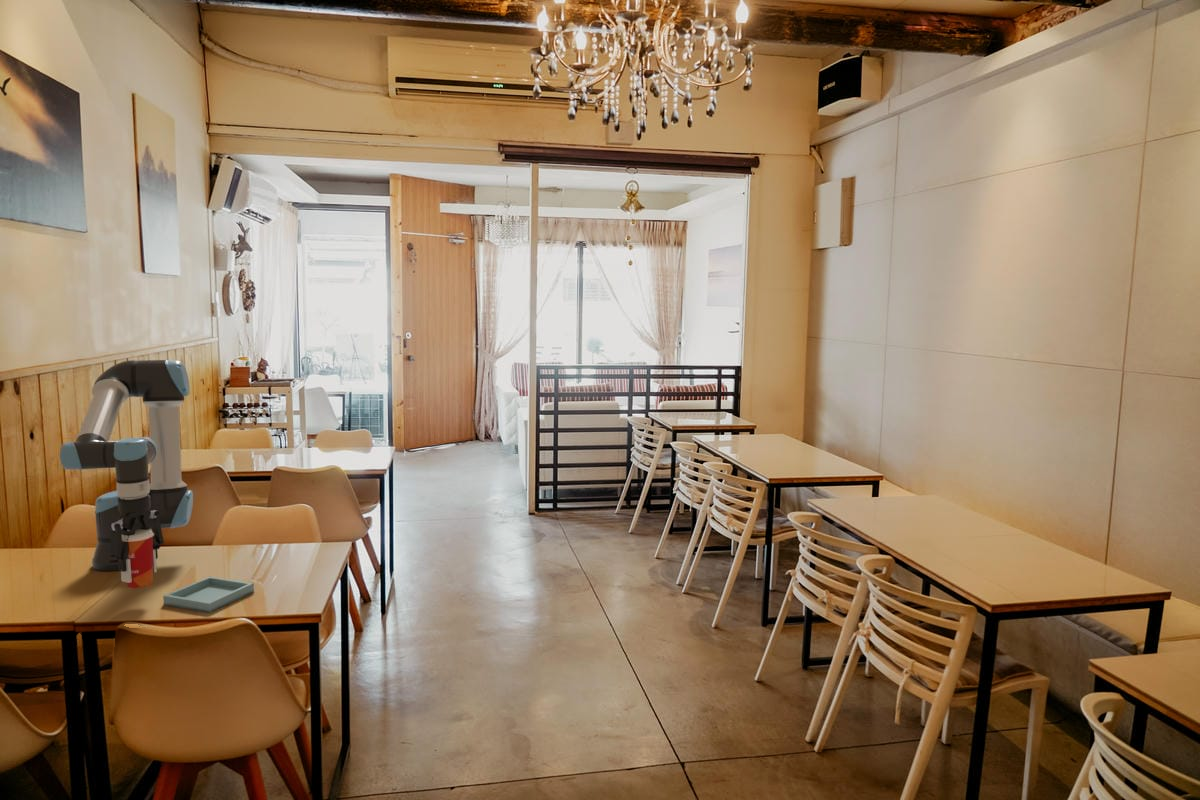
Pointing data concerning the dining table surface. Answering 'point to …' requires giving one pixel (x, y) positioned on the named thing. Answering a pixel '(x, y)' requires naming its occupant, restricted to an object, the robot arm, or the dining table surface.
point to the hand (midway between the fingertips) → (139, 576)
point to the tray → (208, 594)
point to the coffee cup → (140, 557)
